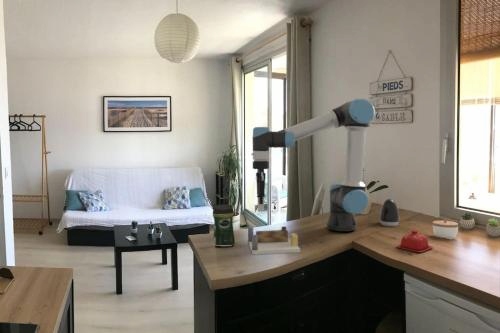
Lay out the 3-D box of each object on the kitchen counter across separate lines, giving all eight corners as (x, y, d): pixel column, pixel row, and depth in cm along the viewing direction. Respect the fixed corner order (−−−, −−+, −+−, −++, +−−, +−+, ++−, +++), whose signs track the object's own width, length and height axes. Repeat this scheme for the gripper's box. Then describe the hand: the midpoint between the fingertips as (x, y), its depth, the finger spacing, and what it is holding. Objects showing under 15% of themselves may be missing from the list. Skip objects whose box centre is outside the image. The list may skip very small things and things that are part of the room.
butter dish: (420, 255, 155) (420, 234, 155) (394, 249, 164) (394, 229, 164) (434, 250, 162) (434, 230, 162) (408, 244, 171) (409, 225, 171)
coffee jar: (233, 242, 178) (232, 202, 177) (236, 247, 170) (235, 205, 169) (212, 244, 176) (211, 203, 175) (214, 248, 168) (213, 206, 167)
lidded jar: (457, 237, 182) (457, 217, 182) (458, 242, 172) (459, 222, 172) (432, 235, 187) (432, 216, 186) (432, 240, 177) (432, 220, 176)
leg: (286, 239, 175) (286, 226, 175) (288, 241, 172) (287, 227, 172) (256, 240, 173) (256, 227, 173) (257, 242, 170) (256, 228, 170)
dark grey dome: (401, 226, 209) (401, 198, 208) (397, 229, 200) (397, 200, 199) (382, 224, 214) (382, 197, 214) (377, 227, 206) (377, 199, 205)
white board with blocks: (290, 241, 178) (290, 225, 178) (300, 252, 161) (300, 234, 160) (247, 243, 176) (247, 227, 176) (252, 254, 158) (252, 236, 158)
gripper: (250, 159, 184) (251, 208, 186) (254, 161, 171) (254, 213, 173) (266, 159, 185) (266, 208, 186) (271, 160, 172) (271, 213, 174)
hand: (260, 210), depth 180 cm, fingers closed
